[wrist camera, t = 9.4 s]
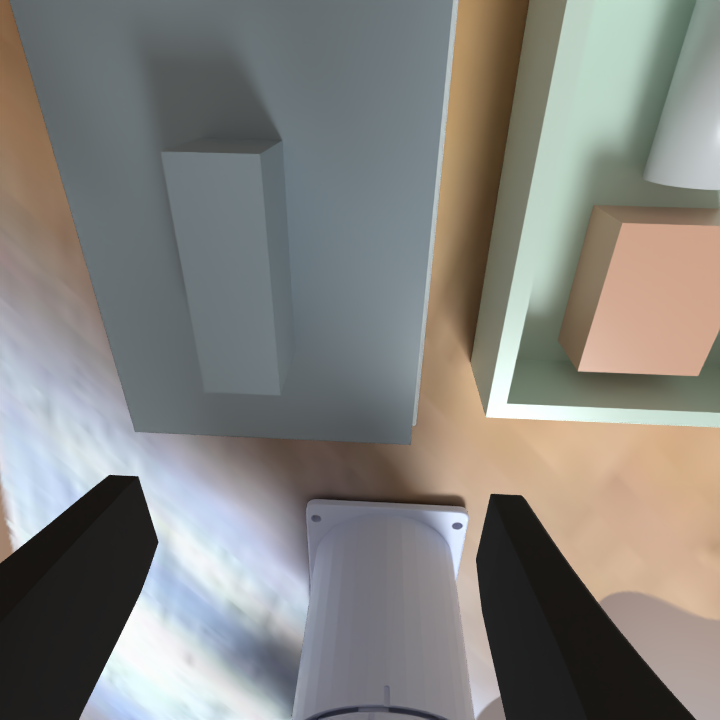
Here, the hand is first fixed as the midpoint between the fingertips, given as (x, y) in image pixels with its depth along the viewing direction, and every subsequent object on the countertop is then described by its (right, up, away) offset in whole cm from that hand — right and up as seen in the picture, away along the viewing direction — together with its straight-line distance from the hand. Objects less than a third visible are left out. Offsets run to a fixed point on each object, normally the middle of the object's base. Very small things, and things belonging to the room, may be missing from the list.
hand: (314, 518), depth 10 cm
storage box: (+11, +9, +6) cm, 15 cm away
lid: (-2, +7, +7) cm, 10 cm away
